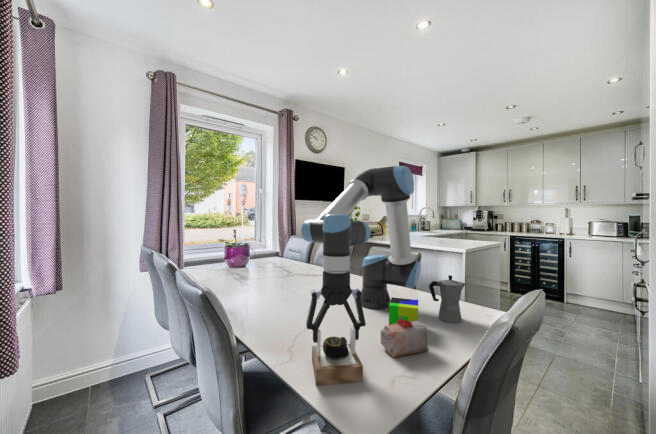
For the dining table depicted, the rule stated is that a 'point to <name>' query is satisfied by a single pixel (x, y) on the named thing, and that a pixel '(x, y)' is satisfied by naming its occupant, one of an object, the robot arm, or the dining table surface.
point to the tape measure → (335, 347)
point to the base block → (336, 368)
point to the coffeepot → (448, 299)
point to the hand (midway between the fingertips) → (335, 352)
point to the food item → (404, 338)
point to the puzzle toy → (403, 310)
